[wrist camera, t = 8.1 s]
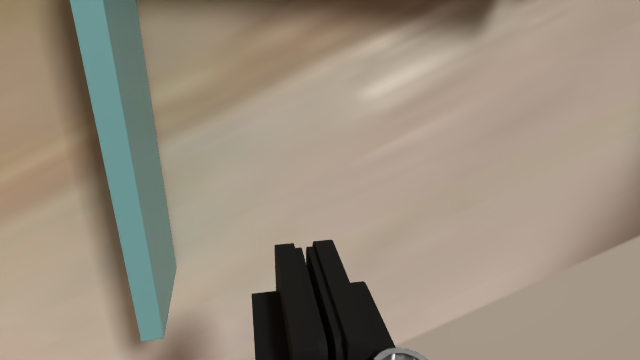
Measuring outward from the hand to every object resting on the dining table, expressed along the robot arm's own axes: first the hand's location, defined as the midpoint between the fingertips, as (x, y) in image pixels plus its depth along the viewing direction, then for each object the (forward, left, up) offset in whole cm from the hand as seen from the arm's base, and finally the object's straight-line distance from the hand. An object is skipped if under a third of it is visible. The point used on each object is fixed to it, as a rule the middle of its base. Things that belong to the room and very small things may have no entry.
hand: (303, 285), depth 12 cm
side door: (+6, -3, -12) cm, 14 cm away
